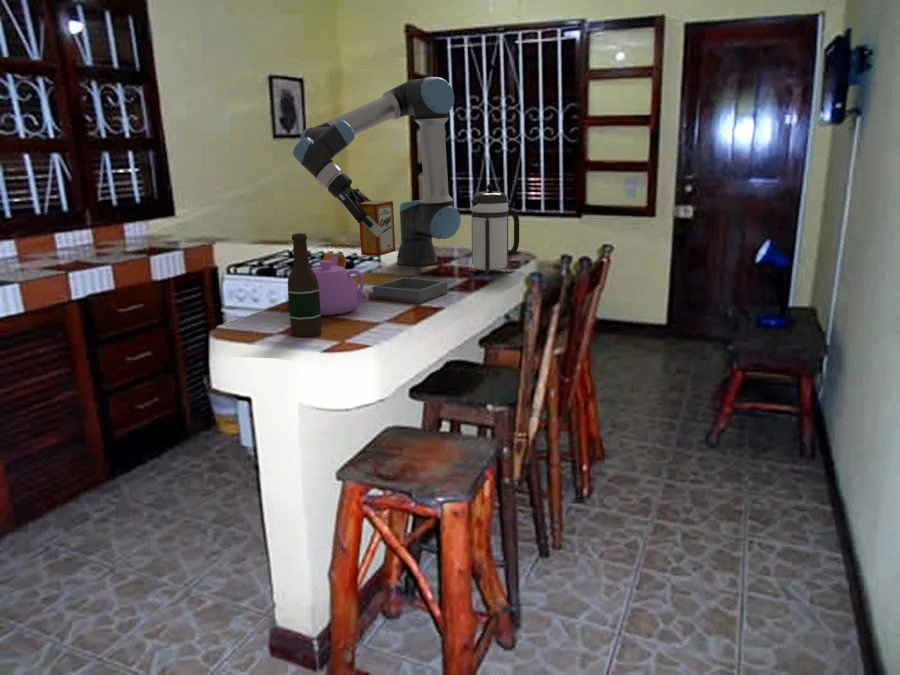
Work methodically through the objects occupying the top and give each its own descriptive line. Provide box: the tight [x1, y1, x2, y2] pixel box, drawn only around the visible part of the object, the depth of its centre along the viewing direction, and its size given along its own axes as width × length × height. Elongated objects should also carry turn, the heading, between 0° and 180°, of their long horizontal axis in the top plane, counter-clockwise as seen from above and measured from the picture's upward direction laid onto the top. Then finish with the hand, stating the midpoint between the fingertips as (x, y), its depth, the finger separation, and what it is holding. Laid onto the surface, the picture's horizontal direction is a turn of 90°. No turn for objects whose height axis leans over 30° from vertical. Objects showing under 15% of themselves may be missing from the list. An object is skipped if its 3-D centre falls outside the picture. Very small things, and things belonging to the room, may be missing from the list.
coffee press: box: [468, 183, 520, 276], centre depth 240 cm, size 17×16×30 cm
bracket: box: [322, 252, 359, 289], centre depth 212 cm, size 11×7×12 cm, turn 153°
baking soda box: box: [358, 200, 396, 257], centre depth 217 cm, size 10×6×16 cm
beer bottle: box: [287, 232, 323, 338], centre depth 166 cm, size 8×8×24 cm
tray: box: [372, 276, 448, 305], centre depth 208 cm, size 16×16×4 cm
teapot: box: [287, 255, 369, 316], centre depth 191 cm, size 22×22×14 cm
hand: (386, 231), depth 217 cm, fingers closed on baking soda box, 11 cm apart
